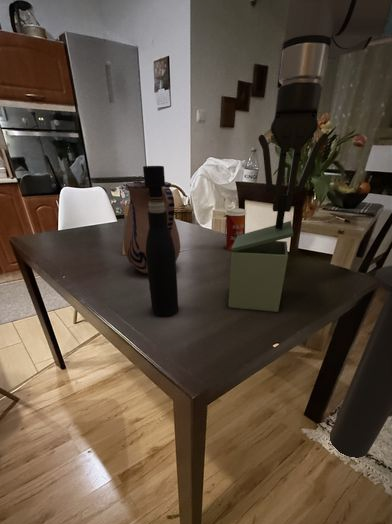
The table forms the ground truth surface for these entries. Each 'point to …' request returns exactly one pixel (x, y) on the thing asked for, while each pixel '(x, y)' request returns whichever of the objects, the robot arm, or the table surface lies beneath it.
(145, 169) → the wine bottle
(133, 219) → the ceramic pitcher
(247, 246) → the bin lid
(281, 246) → the bin
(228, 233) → the paper cup
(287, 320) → the table surface
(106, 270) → the table surface
